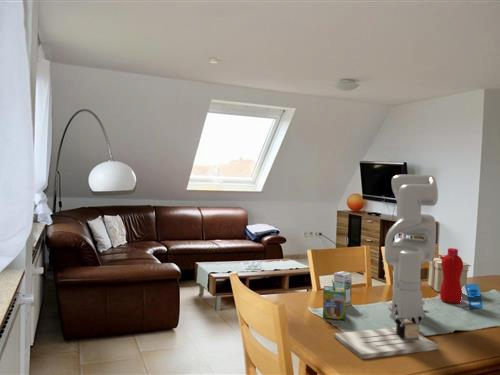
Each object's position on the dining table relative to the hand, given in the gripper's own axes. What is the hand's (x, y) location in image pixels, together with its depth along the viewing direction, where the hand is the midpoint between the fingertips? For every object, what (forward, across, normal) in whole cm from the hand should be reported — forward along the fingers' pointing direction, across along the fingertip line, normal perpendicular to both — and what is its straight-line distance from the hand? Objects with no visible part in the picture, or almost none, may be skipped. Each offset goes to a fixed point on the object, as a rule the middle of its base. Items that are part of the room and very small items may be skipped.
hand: (407, 335), depth 153 cm
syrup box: (+2, +2, -43) cm, 43 cm away
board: (+2, +9, 0) cm, 9 cm away
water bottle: (+2, -51, -35) cm, 62 cm away
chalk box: (+2, +13, -30) cm, 33 cm away
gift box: (+2, -66, -53) cm, 85 cm away
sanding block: (0, 0, 0) cm, 0 cm away
